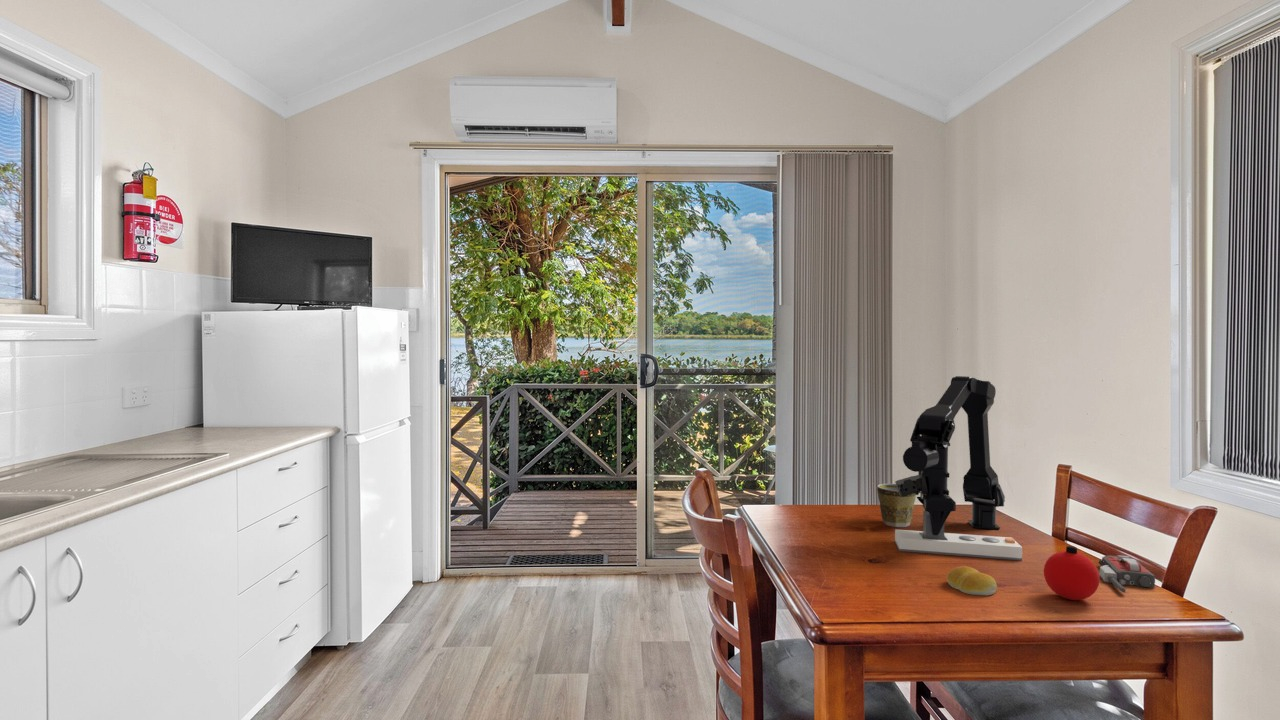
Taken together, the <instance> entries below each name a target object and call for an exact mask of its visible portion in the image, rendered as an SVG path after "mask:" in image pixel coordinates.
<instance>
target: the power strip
mask: <svg viewBox="0 0 1280 720" xmlns="http://www.w3.org/2000/svg"><path fill="white" fill-rule="evenodd" d="M894 543H895V545H896V548H897V550H898V551H899V552H908V553H920V554H921V553H922V554H933V555H947V556H956V557H957V556H958V557H973V558H984V559H996V560H1007V561H1008V560H1009V561H1023V546H1021V545H1020V543H1018V542H1017V541H1016V540H1015V539H1014V537H1009V536H1008V537H1007V536H992V535H981V534H980V535H979V534H967V533H966V534H965V533H964V534H963V533H952V532H944V540H935V539H923V530H922V531H921V530H913V529H912V530H909V529H908V530H907V529H897V528H895V529H894Z"/></svg>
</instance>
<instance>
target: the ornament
mask: <svg viewBox="0 0 1280 720" xmlns="http://www.w3.org/2000/svg"><path fill="white" fill-rule="evenodd" d="M1065 547H1066V548H1065V550H1062V551H1058V552H1056V553H1053V554H1051V556H1049V557H1048V558H1047V560H1046V562H1045V564H1044V566H1043V576H1044V580H1045V582H1046V584H1047V586H1048V587H1049V589H1051V591H1052V592H1054V593H1055V594H1056V595H1058V596H1059V597H1061V598H1064V599H1066V600H1071V601H1081V600H1086V599H1088V598H1090V597H1091V596H1093V595H1094V594H1095V593H1096V592H1097V590H1098V588H1099V586H1100V585H1099V584H1100V580H1101V579H1100V572H1099V571H1098V568H1097V567H1096V565H1095V564H1094V562H1093V561H1092V560H1091V559H1089V557H1087V556H1086V555H1084V554H1082V553H1080V552H1078V548H1077V547H1076V546H1072V545H1067V546H1065Z"/></svg>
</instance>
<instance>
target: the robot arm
mask: <svg viewBox="0 0 1280 720" xmlns="http://www.w3.org/2000/svg"><path fill="white" fill-rule="evenodd" d="M996 392H997V391H996V387H995V385H994V384H992V382H991V381H989V380H980V379H977V378H975V377H972V376H967V375H966V376H963V375H962V376H959V375H957V376H953V377H952V378H951V380H950V384H949V386H948V387H947V388H946V389H945V391H944V393H943V394H942V396H941V397H940V398H939V400H938V402H937V403H936V405H934V406H932V407H929V408H927V409H925V410H924V411H923V412H922V413H921V414H920V415H919V416H918V417H917V420H916V422H915V423H914V427H913V430H912V434H911V437H910V439H909V441H910V443H911V446H910V447H908V448H906V449H905V451H904V453H903V454H902V461H903V464H904V466H905V467H906V468H907V469H908V470H910V471H911V472H915V473H916V472H918V474H916V475H912V476H909V477H905V478H904V477H903V478H902V479H898V480H895V482H894V484H896V486H897V489H898V491H899V494H900V495H901V497H905V496H908V495H909V494H913V493H915V494H916V498H917V500H918V502H920V503H921V504H922V507H923V509H924V511H928V512H929V515H930V522H931V528H932V533H933V535H938V534H939V532H940V530H941V529H942V527H943V525H944V526H945V522H946V521H947V519H948V517H949V516H950V513H951V512H956V510H957V509H956V507H957V505H956V503H957V502H956V501H955V500H954V499H953V498H952V497H951V496H950V490H949V489H948V478H950V473H949V471H948V466H949V465H948V463H949V447H950V446H951V442H950V441H951V439H952V436H953V434H954V433H955V429H956V424H955V417H956V415H957V414H958V413H959V411H960V409H962V410H964V412H965V414H966V416H967V431H968V447H969V450H968V451H969V464H970V466H969V467H970V468H969V469H968V470H967V472H966V474H964V475H963V482H962V490H963V491H962V492H963V498H964V502H965V503H967V502H969V503H971V512H972V513H971V519H968V521H967V522H968V523H969V524H970V526H971V527H973V528H974V529H975V528H976V529H987V530H990V529H991V530H1000V529H1001V527H1000V526H999V525H998V524H997V522H996V521H997V508H999V507H1004V506H1005V501H1006V495H1005V494H1004V491H1003V489H1002V486H1001V485H1000V484H999V476H998V474H997V472H996V471H995V470H994V469H993V468H992V466H991V454H990V453H991V452H990V435H989V434H990V433H989V419H988V418H989V416H988V415H989V412H990V410H991V408H992V407H993V405H994V403H995V397H996ZM919 494H920V495H919Z"/></svg>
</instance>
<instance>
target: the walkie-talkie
mask: <svg viewBox="0 0 1280 720" xmlns="http://www.w3.org/2000/svg"><path fill="white" fill-rule="evenodd" d="M1101 560H1102V561H1101ZM1103 561H1104V562H1103ZM1098 564H1099V565H1100V567H1099V577H1100V578H1101V579H1102V581H1104V583H1110V584H1111V583H1112V585H1113V586H1114V587H1115V588H1116V589H1118V590H1119V591H1120V592H1122V593H1126V592H1127V591H1126V590H1127V589H1126V588H1125V587H1124V586H1123V585H1126V586H1132V585H1137V586H1136V587H1143V588H1151V589H1154V588H1155V586H1156V585H1155V584H1156V578H1155V577H1156V576H1155V574H1153V573H1152V572H1151V571H1150V570H1148V569H1147V568H1146V567H1145V566H1144V565H1142V564H1141V562H1139V561H1138V560H1136V559H1135V558H1132V557H1130V555H1129V556H1128V555H1118V554H1117V555H1105V556H1103V557H1101V559H1098ZM1150 583H1151V584H1150Z"/></svg>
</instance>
